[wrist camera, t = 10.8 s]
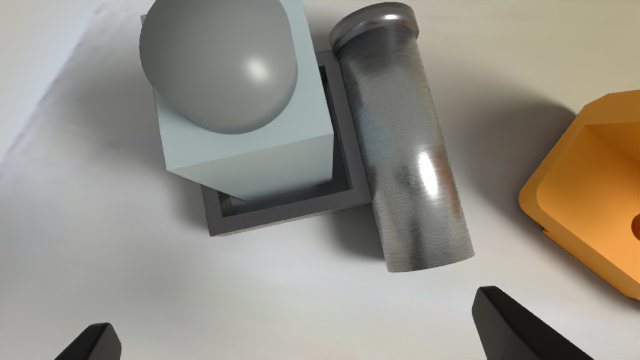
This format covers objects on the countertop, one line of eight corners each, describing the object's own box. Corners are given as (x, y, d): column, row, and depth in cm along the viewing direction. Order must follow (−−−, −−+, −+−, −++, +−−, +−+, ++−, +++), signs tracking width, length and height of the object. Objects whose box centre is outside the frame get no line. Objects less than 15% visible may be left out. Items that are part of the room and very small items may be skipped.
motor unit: (460, 250, 22) (497, 254, 17) (235, 300, 22) (208, 319, 17) (404, 42, 23) (423, -7, 19) (196, 87, 23) (162, 50, 19)
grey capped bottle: (331, 181, 22) (334, 111, 10) (246, 201, 22) (132, 157, 10) (312, 99, 23) (291, -68, 10) (229, 118, 23) (103, -27, 10)
